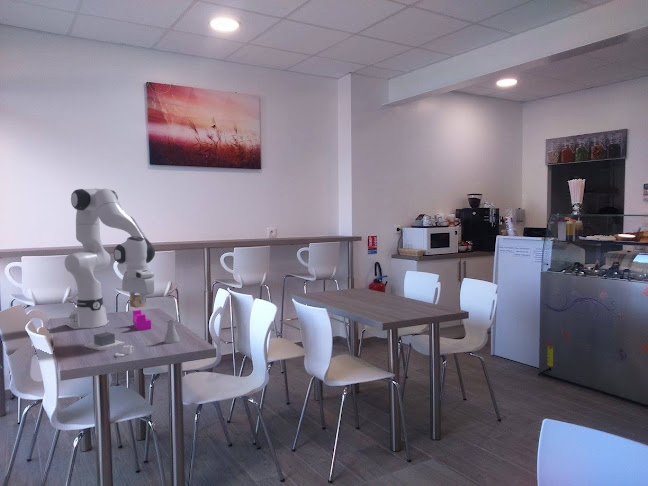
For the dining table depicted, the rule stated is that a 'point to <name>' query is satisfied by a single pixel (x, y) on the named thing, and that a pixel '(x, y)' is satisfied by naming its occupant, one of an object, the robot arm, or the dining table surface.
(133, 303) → the beech block
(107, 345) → the white platform base
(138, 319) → the toy block
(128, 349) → the teacup and saucer
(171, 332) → the flask
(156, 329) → the dining table surface
